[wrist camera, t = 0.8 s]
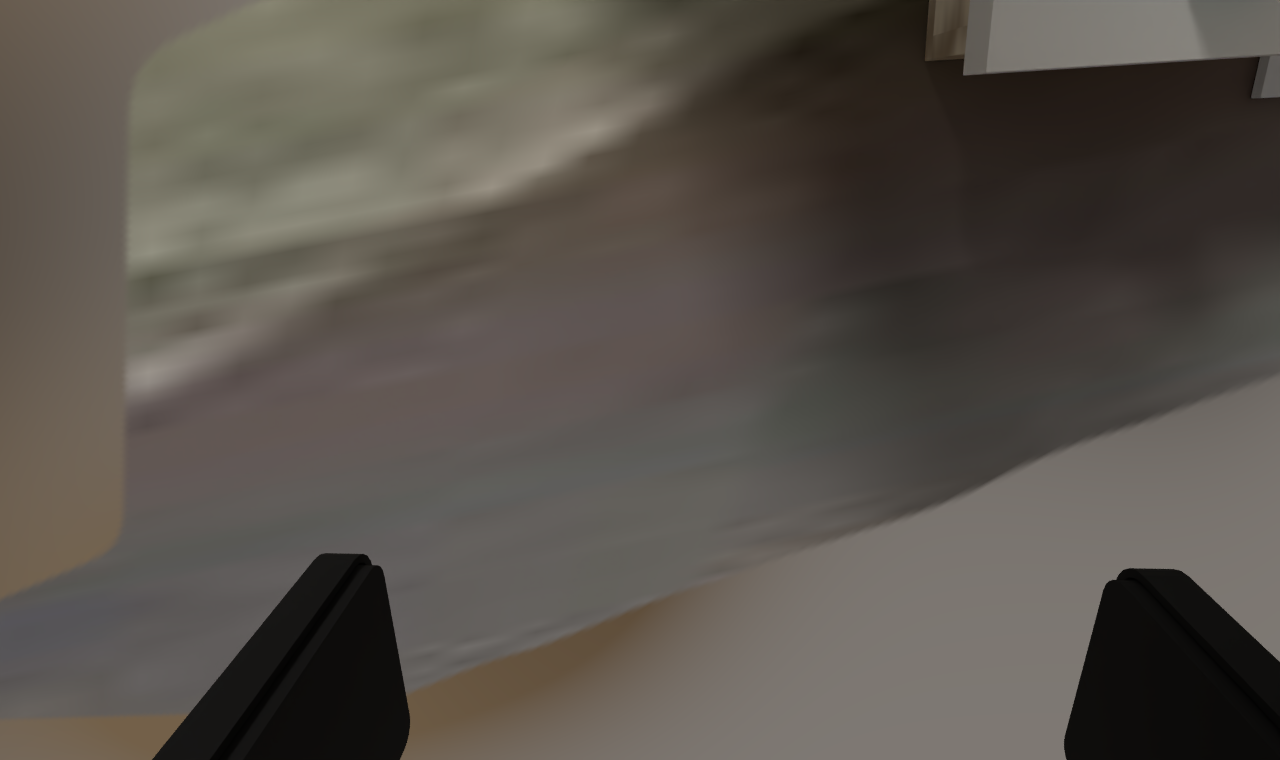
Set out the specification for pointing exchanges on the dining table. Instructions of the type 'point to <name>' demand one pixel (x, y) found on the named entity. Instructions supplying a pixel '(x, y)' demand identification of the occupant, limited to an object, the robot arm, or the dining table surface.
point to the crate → (946, 29)
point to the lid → (1115, 33)
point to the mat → (1267, 78)
